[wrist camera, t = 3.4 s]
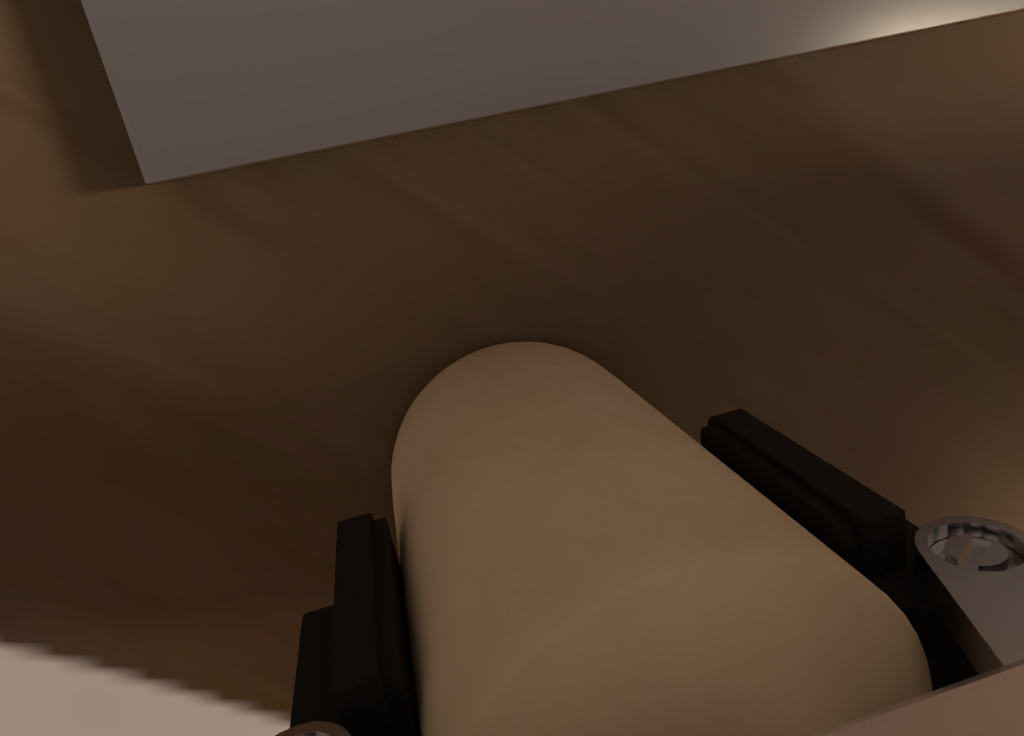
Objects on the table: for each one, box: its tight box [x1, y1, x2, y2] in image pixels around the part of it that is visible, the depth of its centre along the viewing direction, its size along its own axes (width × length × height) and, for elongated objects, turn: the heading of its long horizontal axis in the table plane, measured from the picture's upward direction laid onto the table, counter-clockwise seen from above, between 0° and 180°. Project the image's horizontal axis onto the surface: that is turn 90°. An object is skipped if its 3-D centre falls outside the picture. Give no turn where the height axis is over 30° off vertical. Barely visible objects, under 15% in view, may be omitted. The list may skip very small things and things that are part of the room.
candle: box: [391, 341, 932, 736], centre depth 10 cm, size 6×6×10 cm
